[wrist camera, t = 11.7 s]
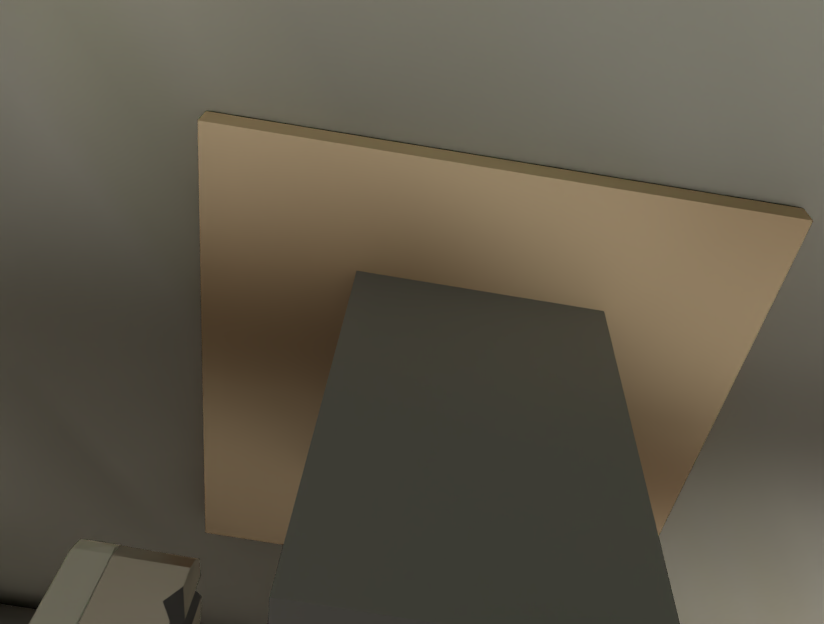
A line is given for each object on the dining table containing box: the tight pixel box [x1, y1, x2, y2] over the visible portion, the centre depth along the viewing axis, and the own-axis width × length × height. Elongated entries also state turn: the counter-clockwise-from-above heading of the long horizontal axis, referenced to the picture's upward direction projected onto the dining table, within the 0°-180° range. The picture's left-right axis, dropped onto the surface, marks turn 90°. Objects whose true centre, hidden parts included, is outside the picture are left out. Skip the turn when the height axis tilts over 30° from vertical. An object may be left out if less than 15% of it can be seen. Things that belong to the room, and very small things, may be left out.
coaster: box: [198, 111, 813, 545], centre depth 14 cm, size 9×9×1 cm
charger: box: [268, 271, 680, 624], centre depth 11 cm, size 5×4×6 cm
